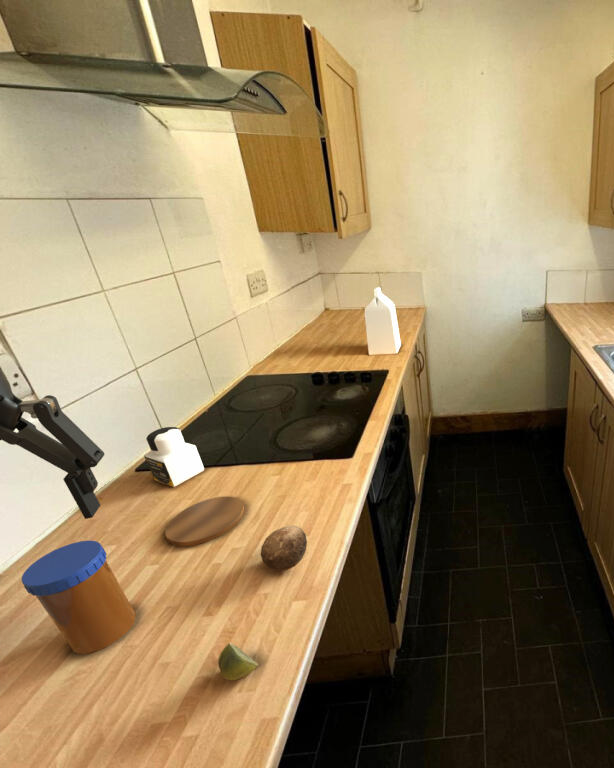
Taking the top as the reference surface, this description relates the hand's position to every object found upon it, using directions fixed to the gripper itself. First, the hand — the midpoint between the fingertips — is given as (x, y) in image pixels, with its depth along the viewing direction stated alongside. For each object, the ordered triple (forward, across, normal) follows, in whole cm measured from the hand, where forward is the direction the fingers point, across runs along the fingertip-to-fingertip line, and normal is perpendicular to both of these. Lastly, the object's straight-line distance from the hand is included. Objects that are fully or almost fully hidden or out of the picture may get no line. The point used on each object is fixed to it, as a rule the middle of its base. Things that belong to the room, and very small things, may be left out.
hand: (39, 524), depth 54 cm
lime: (+21, +20, -16) cm, 33 cm away
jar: (+21, 0, 0) cm, 21 cm away
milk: (+21, +60, +112) cm, 129 cm away
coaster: (+21, +10, +21) cm, 31 cm away
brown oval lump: (+21, +25, +3) cm, 33 cm away
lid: (+7, 0, 0) cm, 7 cm away
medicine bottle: (+21, +1, +42) cm, 47 cm away
